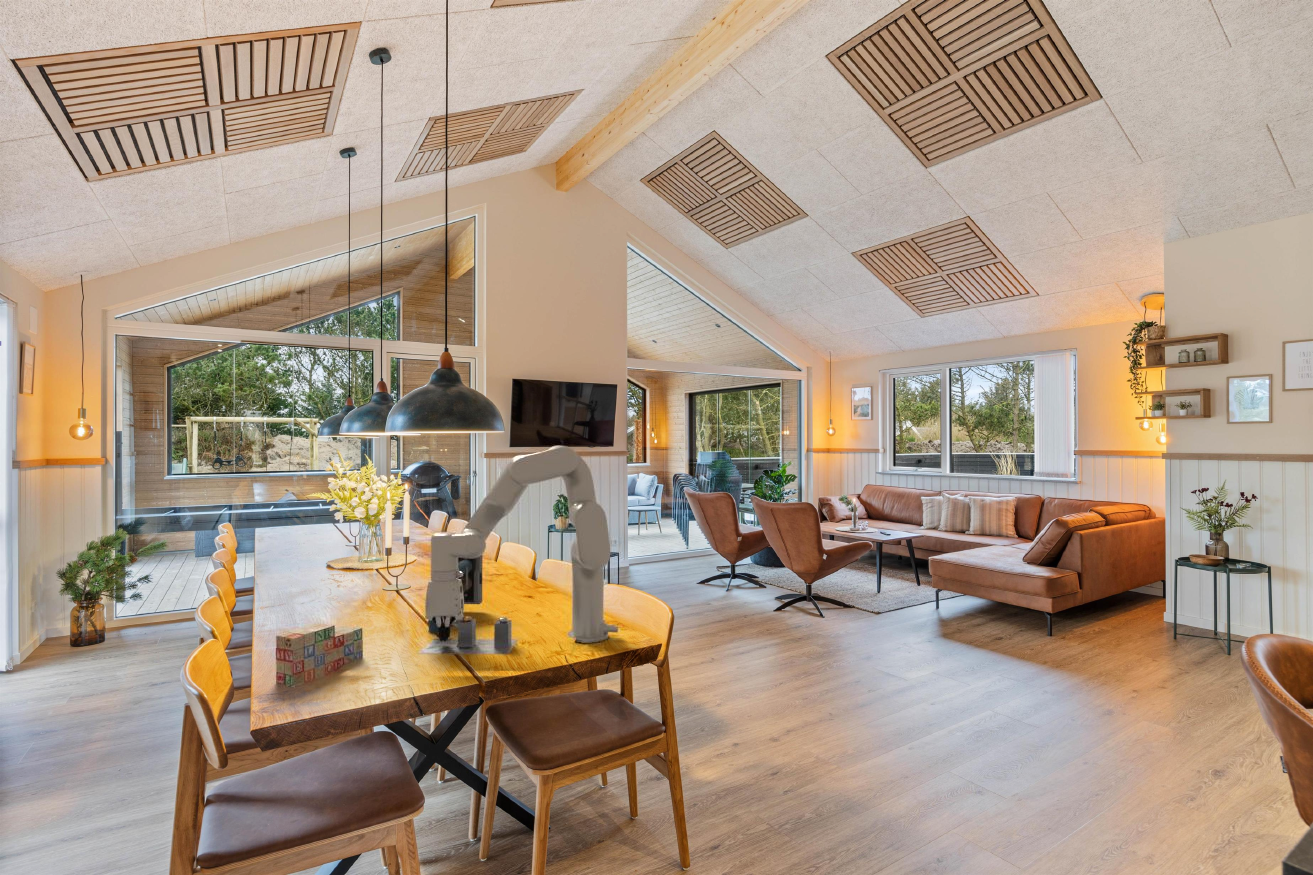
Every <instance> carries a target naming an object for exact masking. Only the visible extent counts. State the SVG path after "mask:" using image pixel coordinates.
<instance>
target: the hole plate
mask: <svg viewBox="0 0 1313 875" xmlns="http://www.w3.org/2000/svg"><path fill="white" fill-rule="evenodd" d="M518 641H519V638H511V645H510V647H509V648H494V638H476V643H475V644H474V645H473V646H472V647H458V638H448V639H447V640H446V641H440V638H434V639H433V640H431V641H430V642H429V643H428V644H427V645H425V646H424V647H423V648H422V649H421V650H420V651H419V652H418V653H417V654H419V655H429V654H431V655H509V653H510V652H511V651H512V649H513V648H514V646H515V645H516V644H517V642H518Z"/></svg>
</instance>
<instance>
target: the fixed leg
mask: <svg viewBox="0 0 1313 875" xmlns="http://www.w3.org/2000/svg"><path fill="white" fill-rule="evenodd" d="M493 626H494V628H493V629H494V630H493V631H494V632H493V636H494V637H493V639H494V648H509V647H510V645H511V639H512V619H508V617H506V616H503V617H498V619H497V620H495V622H494V624H493Z"/></svg>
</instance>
